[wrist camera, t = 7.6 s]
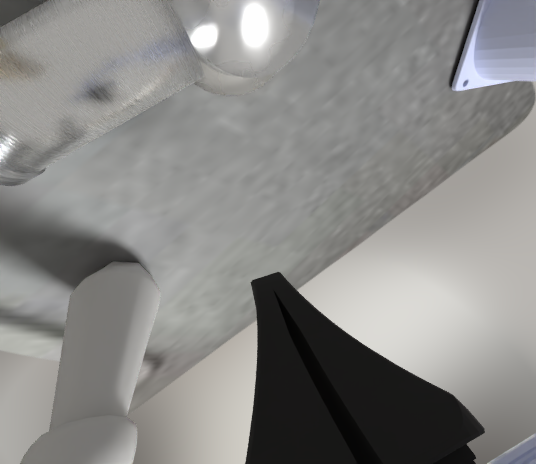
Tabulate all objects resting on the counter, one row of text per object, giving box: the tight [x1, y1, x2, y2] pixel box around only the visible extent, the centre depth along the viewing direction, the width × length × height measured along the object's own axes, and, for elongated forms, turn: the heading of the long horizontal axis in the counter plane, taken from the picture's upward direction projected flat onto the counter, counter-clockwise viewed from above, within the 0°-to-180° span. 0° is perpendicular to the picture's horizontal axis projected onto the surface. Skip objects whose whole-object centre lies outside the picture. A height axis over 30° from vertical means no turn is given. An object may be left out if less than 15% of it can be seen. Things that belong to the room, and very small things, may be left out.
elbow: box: [0, 0, 319, 186], centre depth 9 cm, size 15×6×4 cm, turn 114°
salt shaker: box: [20, 261, 161, 464], centre depth 14 cm, size 6×6×13 cm
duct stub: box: [194, 59, 277, 96], centre depth 11 cm, size 9×8×4 cm
